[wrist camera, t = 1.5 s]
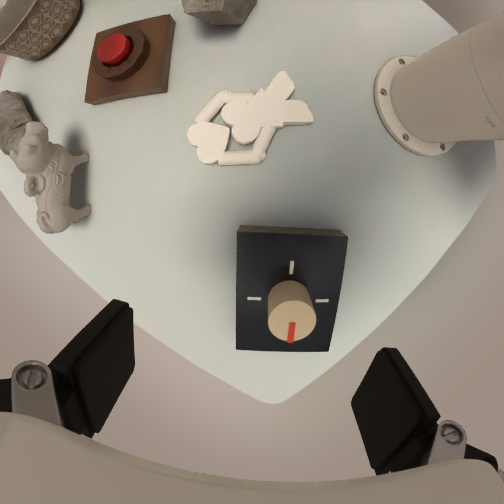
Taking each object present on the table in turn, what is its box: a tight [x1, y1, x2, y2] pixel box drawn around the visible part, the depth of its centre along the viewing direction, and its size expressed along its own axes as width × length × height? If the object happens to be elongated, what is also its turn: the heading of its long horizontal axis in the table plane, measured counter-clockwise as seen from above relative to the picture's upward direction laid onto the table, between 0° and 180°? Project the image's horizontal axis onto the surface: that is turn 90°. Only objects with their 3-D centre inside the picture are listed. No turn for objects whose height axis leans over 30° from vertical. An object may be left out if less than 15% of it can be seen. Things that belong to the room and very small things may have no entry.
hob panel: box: [236, 225, 348, 352], centre depth 30 cm, size 14×11×3 cm
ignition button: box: [97, 33, 133, 66], centre depth 20 cm, size 4×4×2 cm
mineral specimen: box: [181, 0, 256, 26], centre depth 18 cm, size 7×9×8 cm
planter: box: [0, 0, 80, 60], centre depth 16 cm, size 13×13×10 cm
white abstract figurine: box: [187, 71, 314, 166], centre depth 25 cm, size 9×12×2 cm
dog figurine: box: [10, 121, 91, 234], centre depth 23 cm, size 5×13×11 cm, turn 1°
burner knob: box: [268, 281, 316, 343], centre depth 26 cm, size 4×4×5 cm
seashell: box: [0, 90, 33, 155], centre depth 23 cm, size 6×14×8 cm, turn 37°
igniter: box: [85, 14, 175, 105], centre depth 22 cm, size 10×10×4 cm
